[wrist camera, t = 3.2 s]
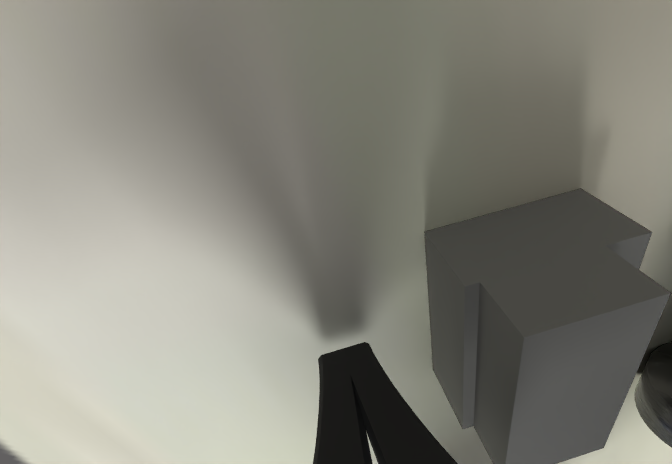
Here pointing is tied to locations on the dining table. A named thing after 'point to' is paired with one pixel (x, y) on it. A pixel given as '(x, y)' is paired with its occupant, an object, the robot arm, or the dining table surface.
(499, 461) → the block
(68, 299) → the dining table surface
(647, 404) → the trolley
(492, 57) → the dining table surface
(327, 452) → the robot arm
